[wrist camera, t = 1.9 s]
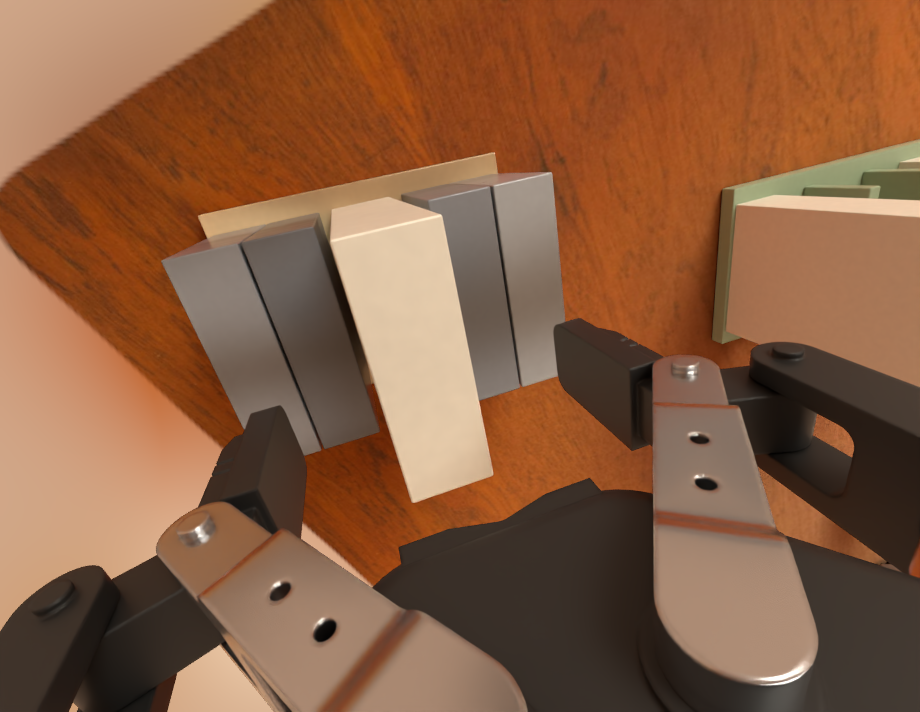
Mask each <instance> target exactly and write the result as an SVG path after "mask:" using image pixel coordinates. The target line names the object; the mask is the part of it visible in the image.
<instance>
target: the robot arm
mask: <svg viewBox="0 0 920 712" xmlns="http://www.w3.org/2000/svg"><path fill="white" fill-rule="evenodd" d="M553 336H554V346H555V355H556V364H557V373H558V377H559V380H560V383H561V385H562V387H563V388H564V390H565V391H566V392H567V393H568V394H569V395H571V396H572V397H573V398H574V399H575V400H576V401H577V402H578V403H579V404H581V405H582V406H583V407H584V408H585V409H586V410H587V411H588V412H589V413H591V414H592V415H593V416H594V417H595V418H596V419H597V420H598V421H599V422H600V423H602V424H603V425H604V426H605V427H606V428H607V429H608V430H609V431H610V432H612V433H613V434H614V435H615V436H616V437H617V438H618V439H619V440H620V441H622V442H623V443H624V444H625V445H626V446H627V447H628V448H629V449H630V450H632V451H633V450H636V449H639V448H642V447H644V446H647V445H651V446H652V447H653V494H651V493H646V492H641V491H633V490H604V491H601V490H600V489H599V488H598V487H597V486H596V485H595V483H594V482H593V481H592V480H591V479H590V478H588V479H585V480H582V481H580V482H577V483H574V484H571V485H569V486H566V487H563V488H560V489H558V490H555V491H552V492H549V493H547V494H545V495H543V496H541V497H540V498H538V499H537V500H535V501H534V502H532V503H530V504H529V505H527V506H526V507H524V508H523V509H521V510H519V511H518V512H516V513H515V514H513V515H512V516H510V517H508V518H507V519H505V520H503V521H499V522H493V523H487V524H480V525H473V526H467V527H460V528H453V529H448V530H445V531H442V532H439V533H437V534H434V535H431V536H428V537H425V538H423V539H420V540H417V541H414V542H412V543H409V544H406V545H403V546H401V547H399V553H400V559H401V565H399V566H398V567H396V568H395V569H393V570H392V571H391V572H389V573H388V574H387V575H386V576H384V577H383V578H382V579H381V580H380V581H379V582H378V583H377V584H376V585H374V586H373V587H372V588H371V587H370V586H368V585H367V584H365V583H364V582H363V581H361V580H360V579H358V578H357V577H355V576H354V575H352V574H351V573H349V572H348V571H346V570H345V569H344V568H342V567H341V566H339V565H338V564H336V563H335V562H333V561H332V560H330V559H329V558H328V557H326V556H325V555H323V554H322V553H320V552H319V551H318V550H316V549H315V548H313V547H312V546H310V545H309V544H307V543H306V542H305V541H303V540H301V531H302V521H303V510H304V499H305V489H306V478H307V467H306V462H305V458H304V455H303V452H302V449H301V447H300V445H299V442H298V440H297V438H296V435H295V433H294V431H293V428H292V426H291V424H290V421H289V419H288V417H287V414H286V412H285V410H284V409H283V407H282V406H281V405H278V406H275V407H271V408H268V409H264V410H261V411H257V412H254V413H251V414H250V416H249V419H248V422H247V425H246V427H245V430H244V433H243V435H239V436H236V437H234V438H233V439H232V440H231V441H230V442H229V443H228V445H227V446H226V447H225V448H224V449H223V450H222V451H221V454H220V456H219V459H218V461H217V463H216V464H217V466H215V468H214V471H213V473H212V477H211V478H210V480H209V482H208V485H207V487H206V489H205V492H204V495H203V497H202V499H201V502H200V504H199V506H198V508H196V509H194V510H192V511H190V512H188V513H187V514H185V515H183V516H182V517H181V518H179V519H178V520H177V521H175V522H174V523H173V524H172V525H171V526H170V527H169V528H168V529H167V530H166V531H165V532H164V533H163V534H162V536H161V537H160V539H159V541H158V543H157V546H156V553H157V555H156V556H154V557H153V558H151V559H149V560H147V561H145V562H143V563H142V564H140V565H138V566H136V567H134V568H133V569H130V570H129V571H127V572H125V573H123V574H121V575H119V576H117V577H115V578H113V579H112V580H111V579H110V577H109V576H108V575H107V574H106V572H105V571H104V570H103V568H101V567H100V566H95V565H92V566H85V567H81V568H78V569H75V570H72V571H70V572H67V573H65V574H63V575H61V576H59V577H58V578H56V579H54V580H52V581H51V582H49V583H48V584H46V585H45V586H43V587H42V588H40V589H39V590H38V591H36V592H35V593H34V594H33V595H31V596H30V597H29V598H28V599H27V600H26V601H24V602H23V604H21V605H20V607H18V608H17V610H16V611H15V612H14V613H13V614H12V615H11V617H10V618H9V619H8V621H7V622H6V624H5V625H4V627H3V628H2V630H1V631H0V712H69V710H70V708H71V705H72V703H74V704H75V705H76V706H77V707H78V710H77V712H167V710H168V706H169V703H170V699H171V695H172V691H173V687H174V684H175V680H176V676H177V672H179V671H180V670H182V669H183V668H185V667H187V666H188V665H189V664H191V663H192V662H194V661H196V660H197V659H199V658H200V657H202V656H203V655H205V654H206V653H208V652H209V651H211V650H212V649H214V648H215V647H217V646H218V645H220V646H221V647H222V648H223V650H224V651H225V652H226V653H227V655H228V656H229V657H230V658H231V660H232V661H233V662H234V663H235V664H236V665H237V667H238V668H239V669H240V671H241V672H242V673H243V674H244V675H245V677H246V678H247V679H248V680H249V681H250V683H251V684H252V685H253V686H254V688H255V689H256V690H257V691H258V692H259V694H260V695H261V696H262V697H263V699H264V700H265V701H266V702H267V704H268V705H269V706H270V707H271V709H272V710H273V711H274V712H920V387H918V386H915V385H913V384H910V383H907V382H905V381H902V380H899V379H897V378H894V377H892V376H889V375H886V374H884V373H881V372H878V371H876V370H873V369H870V368H868V367H865V366H862V365H860V364H857V363H855V362H852V361H849V360H847V359H844V358H841V357H839V356H836V355H833V354H831V353H828V352H826V351H823V350H820V349H818V348H815V347H812V346H809V345H805V344H800V343H793V342H770V343H765V344H761V345H758V346H756V347H754V348H753V349H752V351H751V356H750V366H744V367H736V368H728V369H719V367H718V365H717V364H716V363H715V362H713V361H712V360H710V359H707V358H705V357H701V356H696V355H685V354H681V355H671V356H667V357H663V356H661V355H659V354H657V353H655V352H654V351H652V350H650V349H648V348H646V347H644V346H642V345H640V344H639V345H638V343H637V342H635V341H633V340H631V339H629V340H628V338H627V337H625V336H623V335H621V334H620V333H618V332H615V331H611V330H606V329H602V328H597V327H595V326H593V325H592V324H590V323H588V322H586V321H584V320H583V319H581V318H577V319H574V320H571V321H567V322H564V323H560V324H557V325H555V326H554V330H553ZM817 414H819V415H821V416H823V417H825V418H827V419H829V420H831V421H832V422H834V423H836V424H838V425H840V426H841V427H843V428H844V429H845V430H846V431H847V432H848V433H849V434H850V436H851V438H852V440H853V442H854V453H853V457H852V458H851V457H850V456H848V455H846V454H844V453H843V452H841V451H839V450H838V449H836V448H834V447H832V446H831V445H829V444H827V443H825V442H824V441H822V440H820V439H818V438H817V437H815V436H813V432H814V427H815V422H816V416H817ZM757 466H758V467H759V468H761V469H762V470H764V471H765V472H766V473H768V474H769V475H770V476H772V477H773V478H774V479H776V480H777V481H778V482H780V483H781V484H783V485H784V486H785V487H787V488H788V489H789V490H791V491H792V492H793V493H795V494H796V495H798V496H799V497H800V498H802V499H803V500H804V501H806V502H807V503H808V504H810V505H811V506H813V507H814V508H815V509H817V510H818V511H819V512H821V513H822V514H823V515H825V516H826V517H828V518H829V519H830V520H832V521H833V522H834V523H836V524H837V525H838V526H840V527H841V528H843V529H844V530H845V531H847V532H848V533H849V534H851V535H852V536H853V537H855V538H856V539H857V540H859V541H860V542H862V543H863V544H864V545H866V546H867V547H868V548H870V549H871V550H872V551H874V552H875V553H877V554H878V555H879V556H881V557H882V558H883V559H885V560H886V561H887V562H889V563H890V564H892V565H893V566H894V567H896V568H897V569H898V570H900V571H901V572H899V571H896V570H893V569H890V568H886V567H883V566H880V565H877V564H874V563H871V562H867V561H864V560H861V559H858V558H855V557H852V556H849V555H845V554H842V553H839V552H836V551H833V550H830V549H826V548H823V547H820V546H817V545H814V544H811V543H808V542H804V541H801V540H798V539H795V538H792V537H789V536H785V535H784V534H783V533H781V532H779V531H778V530H777V528H776V526H775V523H774V520H773V516H772V513H771V510H770V506H769V503H768V500H767V496H766V493H765V490H764V486H763V483H762V480H761V476H760V473H759V470H758V467H757Z"/></svg>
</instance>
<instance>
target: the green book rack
mask: <svg viewBox="0 0 920 712" xmlns="http://www.w3.org/2000/svg"><path fill="white" fill-rule="evenodd" d="M739 338H744V339H747V340H749V341H752V342H755V343H757V344H760V345H761V344H765V343H770V342H793V343H800V344H805V345H809V346H812V347H815V348H818V349H820V350H823V351H826V352H828V353H831V354H833V355H836V356H839V357H841V358H844V359H847V360H849V361H852V362H855V363H857V364H860V365H862V366H865V367H868V368H870V369H873V370H876V371H878V372H881V373H884V374H886V375H889V376H892V377H894V378H897V379H899V380H902V381H905V382H907V383H910V384H913V385H915V386H918V387H920V139H918V140H914V141H910V142H906V143H902V144H898V145H894V146H890V147H886V148H882V149H878V150H874V151H870V152H866V153H862V154H859V155H855V156H851V157H847V158H843V159H839V160H835V161H831V162H827V163H823V164H819V165H815V166H811V167H807V168H803V169H799V170H795V171H791V172H787V173H783V174H779V175H775V176H771V177H767V178H763V179H759V180H755V181H752V182H748V183H744V184H740V185H736V186H732V187H728V188H724V189H723V190H722V202H721V217H720V231H719V245H718V259H717V274H716V288H715V302H714V317H713V331H712V340H714V341H716V342H719V343H721V344H724V343H727V342H730V341H733V340H736V339H739Z"/></svg>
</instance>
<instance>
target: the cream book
mask: <svg viewBox="0 0 920 712" xmlns="http://www.w3.org/2000/svg"><path fill="white" fill-rule="evenodd" d="M330 245H331V248H332V252H333V255H334V258H335V261H336V264H337V267H338V271H339V274H340V277H341V280H342V283H343V286H344V290H345V293H346V296H347V299H348V302H349V305H350V309H351V312H352V315H353V318H354V321H355V324H356V328H357V331H358V334H359V337H360V340H361V343H362V347H363V350H364V353H365V356H366V359H367V362H368V366H369V369H370V372H371V375H372V378H373V381H374V385H375V388H376V391H377V394H378V397H379V400H380V404H381V407H382V410H383V413H384V416H385V419H386V423H387V426H388V429H389V432H390V435H391V438H392V442H393V445H394V448H395V451H396V454H397V457H398V461H399V464H400V467H401V470H402V473H403V476H404V480H405V483H406V486H407V489H408V492H409V495H410V499H411V502H412V503H416V502H418V501H421V500H424V499H427V498H430V497H433V496H436V495H439V494H442V493H444V492H447V491H450V490H453V489H456V488H459V487H462V486H465V485H467V484H470V483H473V482H476V481H479V480H482V479H485V478H488V477H491V476H493V469H492V464H491V459H490V454H489V449H488V444H487V439H486V434H485V429H484V424H483V419H482V413H481V408H480V403H479V398H478V393H477V388H476V383H475V378H474V373H473V368H472V363H471V358H470V353H469V348H468V343H467V338H466V333H465V328H464V323H463V318H462V313H461V308H460V303H459V298H458V293H457V288H456V283H455V278H454V273H453V268H452V263H451V258H450V253H449V248H448V243H447V238H446V233H445V228H444V222H443V217H442V215H441V214H438V213H435V212H432V211H429V210H426V209H423V208H420V207H417V206H414V205H411V204H408V203H405V202H402V201H399V200H396V199H393V198H390V197H385V198H381V199H376V200H372V201H367V202H363V203H358V204H354V205H349V206H345V207H340V208H336V209H332V211H331V230H330Z"/></svg>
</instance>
